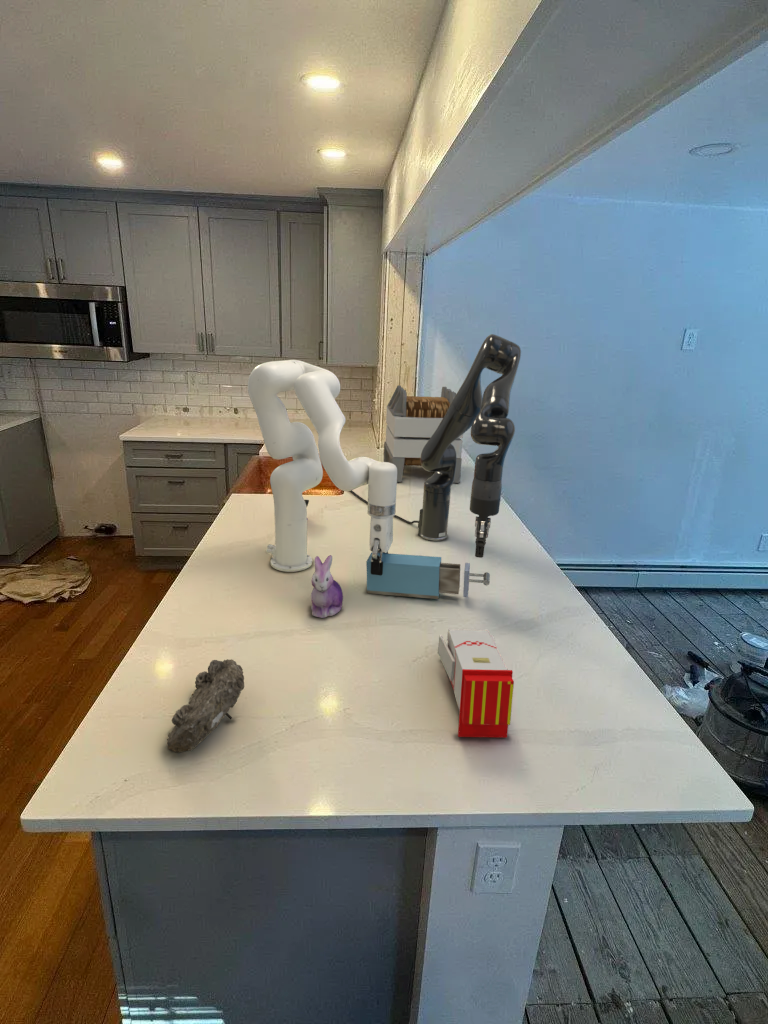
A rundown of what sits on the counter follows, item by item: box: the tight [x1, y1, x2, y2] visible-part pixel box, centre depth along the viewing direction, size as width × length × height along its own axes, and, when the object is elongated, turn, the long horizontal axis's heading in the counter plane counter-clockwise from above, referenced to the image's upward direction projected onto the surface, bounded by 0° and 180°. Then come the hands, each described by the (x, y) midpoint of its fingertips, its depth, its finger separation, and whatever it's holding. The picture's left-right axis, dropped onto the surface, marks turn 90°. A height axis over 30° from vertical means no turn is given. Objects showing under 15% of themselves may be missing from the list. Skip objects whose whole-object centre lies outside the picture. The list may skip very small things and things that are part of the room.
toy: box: [437, 628, 515, 738], centre depth 117 cm, size 12×13×30 cm
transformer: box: [383, 384, 464, 484], centre depth 268 cm, size 34×33×41 cm
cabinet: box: [365, 551, 442, 600], centre depth 157 cm, size 20×6×10 cm, turn 79°
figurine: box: [310, 554, 344, 618], centre depth 145 cm, size 9×10×15 cm
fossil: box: [166, 658, 245, 754], centre depth 106 cm, size 22×10×15 cm
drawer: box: [439, 562, 491, 598], centre depth 155 cm, size 24×5×8 cm, turn 79°
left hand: (379, 568), depth 158 cm, fingers closed on cabinet, 6 cm apart
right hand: (479, 556), depth 151 cm, fingers closed
